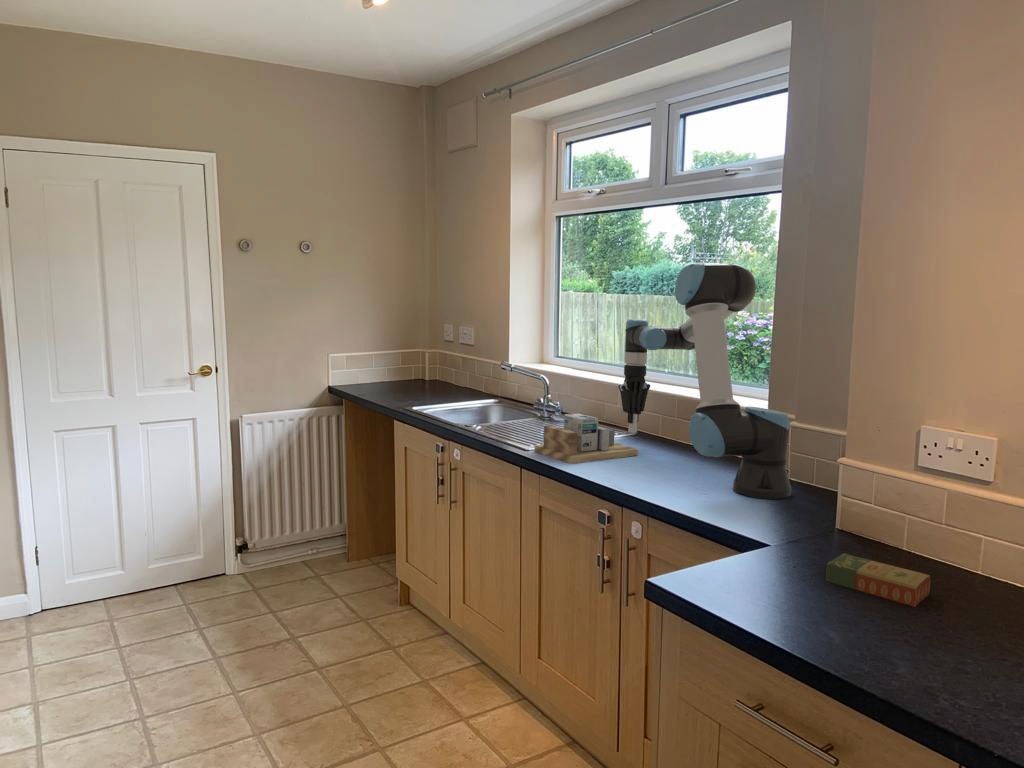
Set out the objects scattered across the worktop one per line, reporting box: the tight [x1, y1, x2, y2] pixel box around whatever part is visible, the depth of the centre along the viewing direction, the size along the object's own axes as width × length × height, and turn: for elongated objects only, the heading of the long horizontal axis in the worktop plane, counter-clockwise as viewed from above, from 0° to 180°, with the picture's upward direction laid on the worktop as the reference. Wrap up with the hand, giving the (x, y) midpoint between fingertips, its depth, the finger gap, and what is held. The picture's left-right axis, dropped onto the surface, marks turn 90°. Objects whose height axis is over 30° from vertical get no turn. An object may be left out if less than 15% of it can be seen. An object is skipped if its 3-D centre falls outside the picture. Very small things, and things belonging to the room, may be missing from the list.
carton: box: [825, 552, 932, 608], centre depth 140 cm, size 8×16×4 cm, turn 45°
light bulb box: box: [563, 413, 599, 452], centre depth 245 cm, size 11×7×11 cm, turn 31°
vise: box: [533, 424, 639, 465], centre depth 247 cm, size 20×28×9 cm
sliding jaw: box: [597, 425, 615, 451], centre depth 250 cm, size 14×10×7 cm
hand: (632, 432), depth 258 cm, fingers closed
